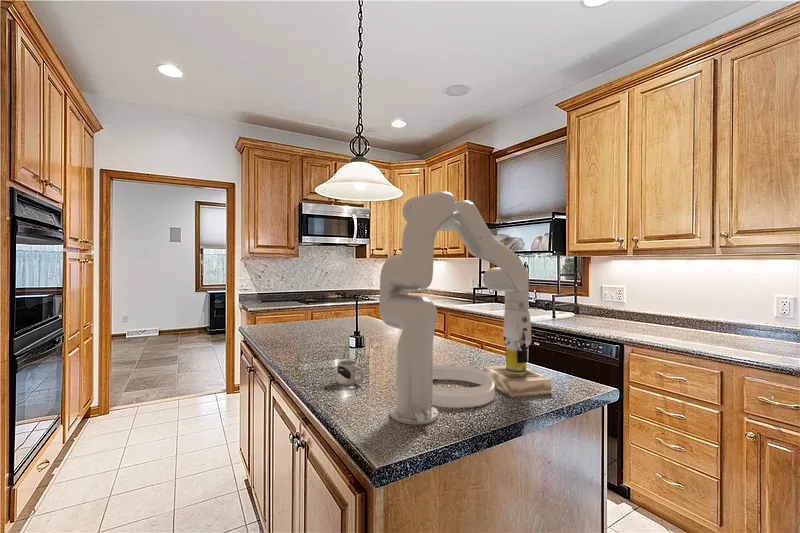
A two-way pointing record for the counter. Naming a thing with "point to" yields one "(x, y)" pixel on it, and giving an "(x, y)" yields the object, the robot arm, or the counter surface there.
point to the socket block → (519, 382)
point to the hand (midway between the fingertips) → (515, 359)
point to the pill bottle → (513, 359)
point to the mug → (349, 373)
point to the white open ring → (462, 395)
